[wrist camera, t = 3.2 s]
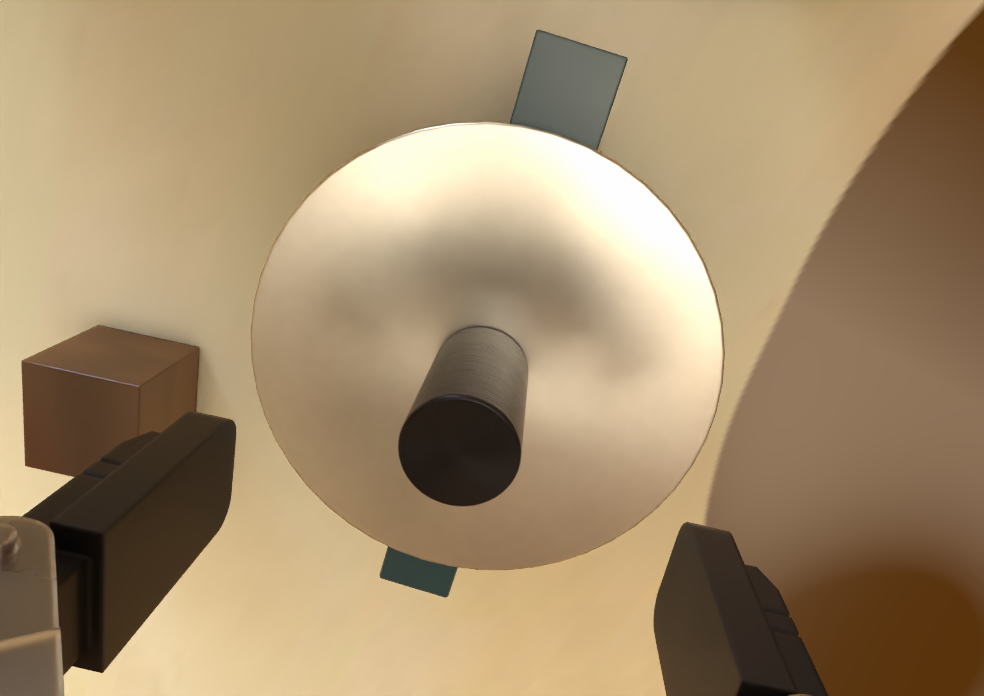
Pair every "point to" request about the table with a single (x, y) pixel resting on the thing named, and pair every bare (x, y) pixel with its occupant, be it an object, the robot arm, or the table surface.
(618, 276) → the lid
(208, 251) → the table surface
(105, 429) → the block
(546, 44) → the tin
